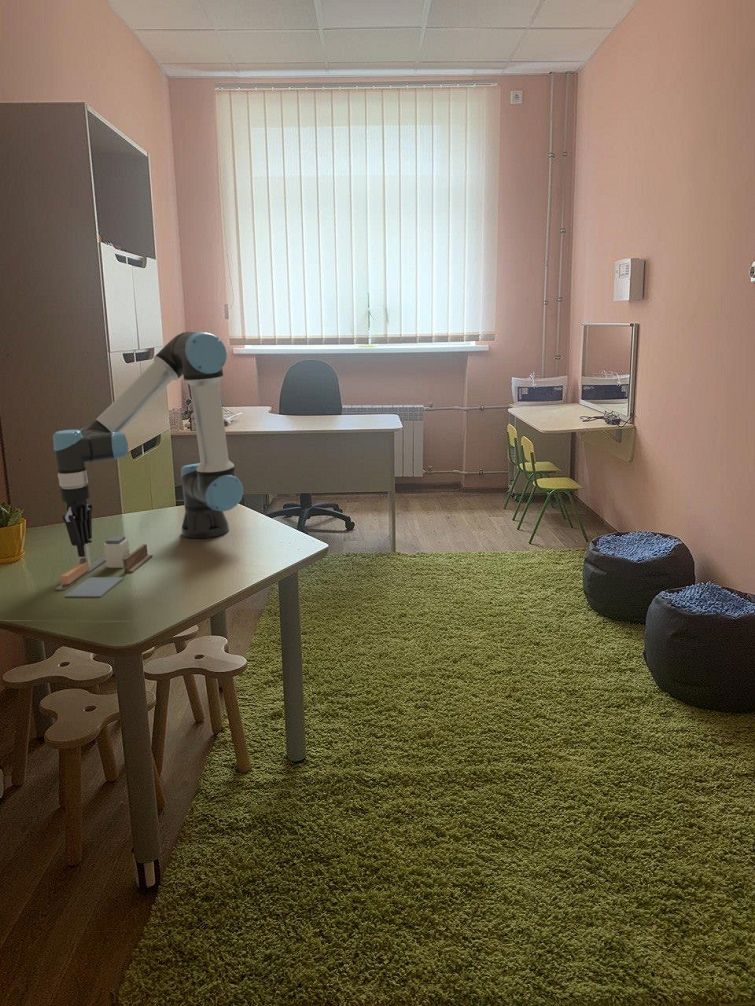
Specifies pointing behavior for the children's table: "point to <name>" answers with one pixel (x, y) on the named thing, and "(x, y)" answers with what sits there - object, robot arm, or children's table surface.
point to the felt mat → (94, 587)
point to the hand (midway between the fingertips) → (85, 566)
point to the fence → (136, 559)
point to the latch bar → (75, 572)
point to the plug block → (116, 551)
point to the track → (91, 568)
